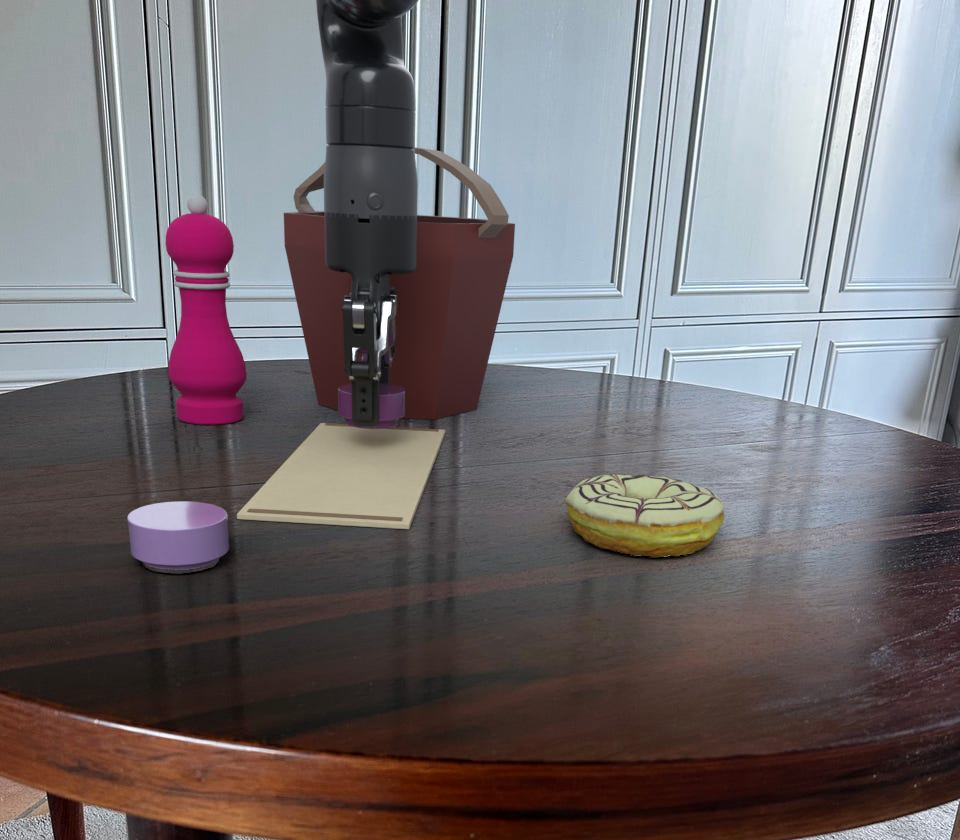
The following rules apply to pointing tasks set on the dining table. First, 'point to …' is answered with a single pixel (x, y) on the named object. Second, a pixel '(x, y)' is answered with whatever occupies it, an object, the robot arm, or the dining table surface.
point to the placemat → (350, 478)
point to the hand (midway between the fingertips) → (371, 416)
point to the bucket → (412, 299)
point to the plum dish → (388, 405)
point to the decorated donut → (644, 514)
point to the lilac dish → (178, 534)
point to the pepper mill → (204, 320)
